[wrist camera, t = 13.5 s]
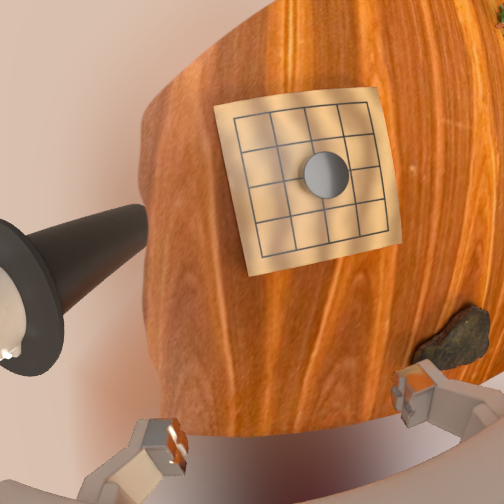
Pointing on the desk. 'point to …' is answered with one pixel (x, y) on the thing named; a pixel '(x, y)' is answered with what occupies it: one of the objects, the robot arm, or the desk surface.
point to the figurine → (503, 18)
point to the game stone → (323, 175)
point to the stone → (458, 340)
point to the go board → (287, 183)
